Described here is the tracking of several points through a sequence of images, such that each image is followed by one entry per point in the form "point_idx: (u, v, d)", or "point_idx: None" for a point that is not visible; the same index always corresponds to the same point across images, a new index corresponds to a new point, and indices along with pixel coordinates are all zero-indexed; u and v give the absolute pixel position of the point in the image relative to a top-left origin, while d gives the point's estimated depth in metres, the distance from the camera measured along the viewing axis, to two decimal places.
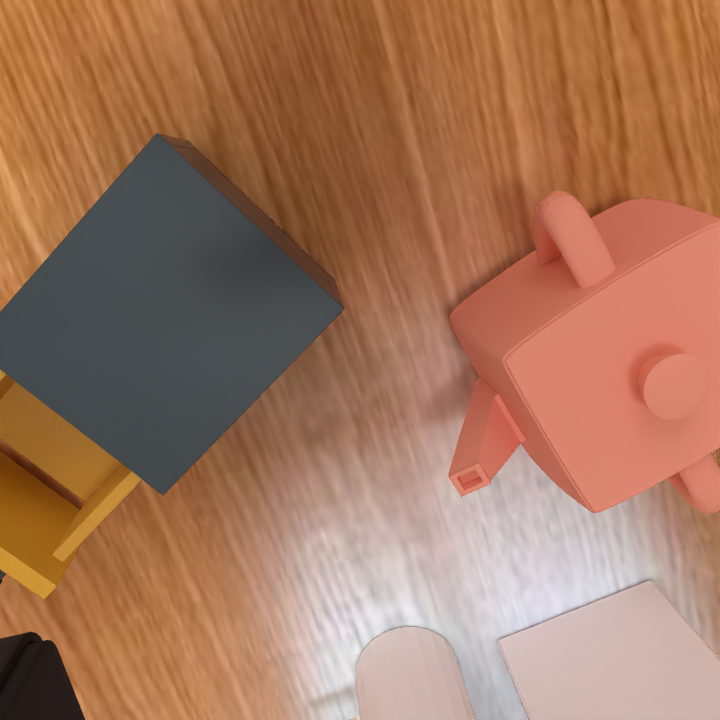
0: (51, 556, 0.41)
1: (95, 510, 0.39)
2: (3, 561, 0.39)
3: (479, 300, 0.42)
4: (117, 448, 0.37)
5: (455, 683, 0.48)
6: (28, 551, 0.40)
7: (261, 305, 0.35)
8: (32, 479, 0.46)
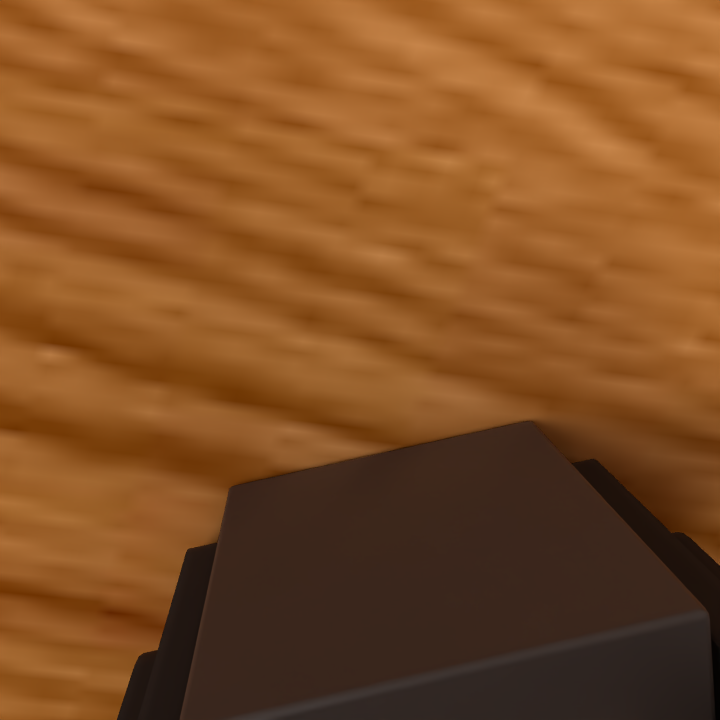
0: None
1: None
2: None
3: None
4: None
5: None
6: None
7: None
8: None
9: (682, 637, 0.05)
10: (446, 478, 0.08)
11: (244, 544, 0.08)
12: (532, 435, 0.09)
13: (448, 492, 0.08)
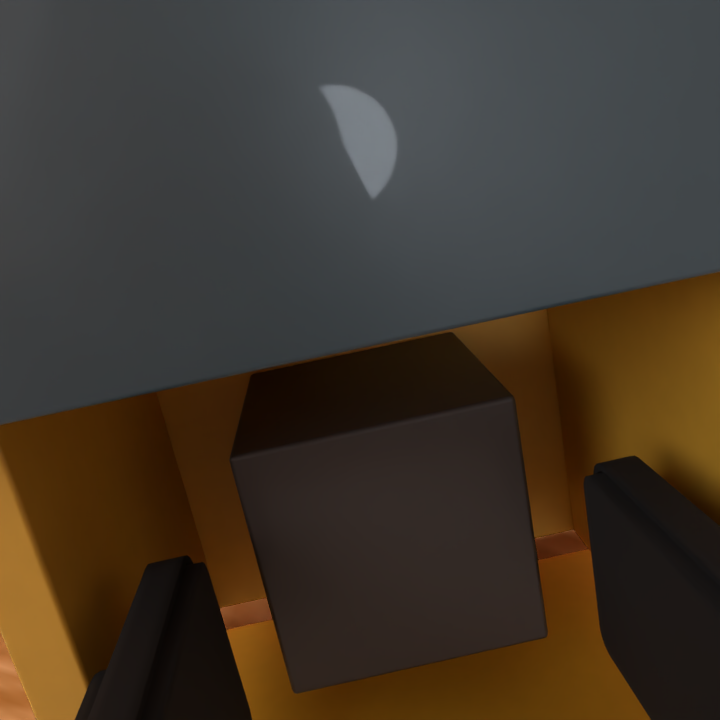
0: None
1: None
2: None
3: None
4: (635, 235, 0.06)
5: None
6: None
7: None
8: None
9: (499, 410, 0.10)
10: (390, 360, 0.13)
11: (262, 395, 0.13)
12: (449, 338, 0.14)
13: (390, 365, 0.13)
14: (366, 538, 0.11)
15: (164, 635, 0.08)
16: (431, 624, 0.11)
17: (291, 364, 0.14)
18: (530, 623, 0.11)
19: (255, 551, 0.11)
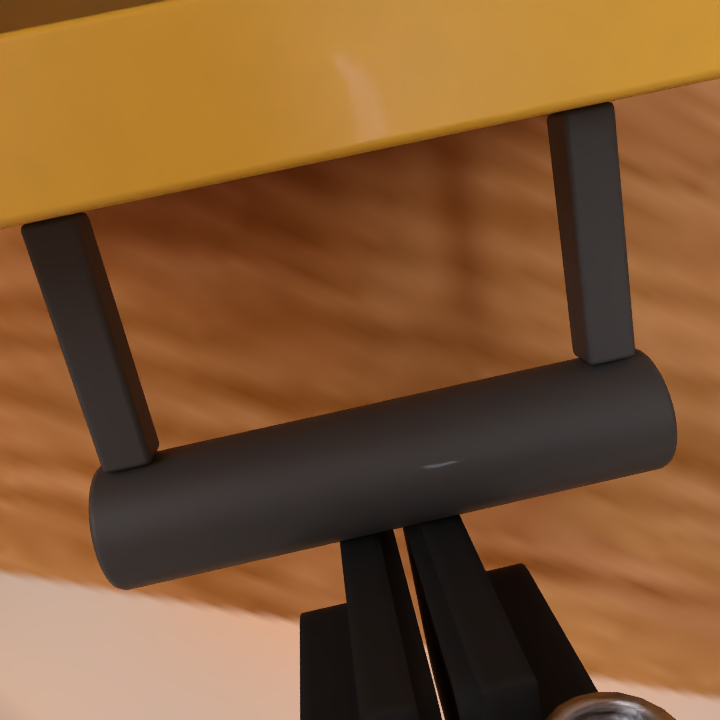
0: None
1: None
2: (661, 1, 0.05)
3: None
4: None
5: None
6: None
7: None
8: None
9: None
10: None
11: None
12: None
13: None
14: None
15: (388, 572, 0.08)
16: None
17: None
18: None
19: None
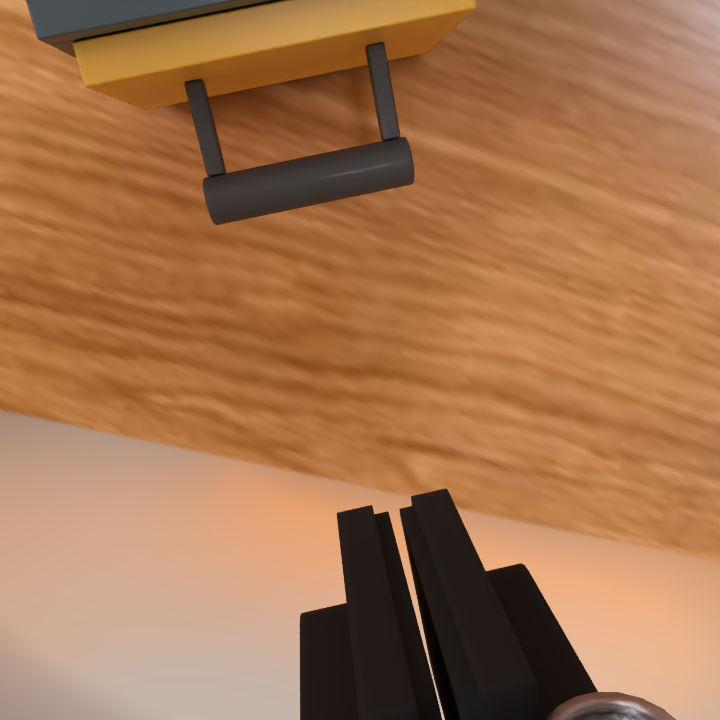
0: None
1: None
2: (362, 8, 0.19)
3: None
4: None
5: None
6: None
7: None
8: None
9: None
10: None
11: None
12: None
13: None
14: None
15: (387, 572, 0.08)
16: None
17: None
18: None
19: None
